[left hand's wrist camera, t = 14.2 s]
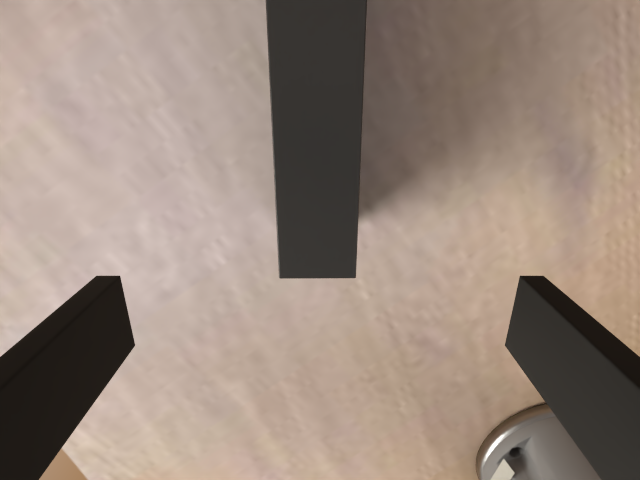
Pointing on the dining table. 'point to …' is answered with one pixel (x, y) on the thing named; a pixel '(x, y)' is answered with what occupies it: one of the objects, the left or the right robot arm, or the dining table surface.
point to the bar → (316, 132)
